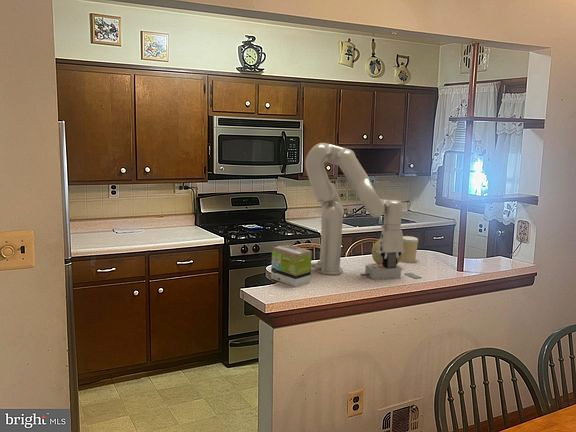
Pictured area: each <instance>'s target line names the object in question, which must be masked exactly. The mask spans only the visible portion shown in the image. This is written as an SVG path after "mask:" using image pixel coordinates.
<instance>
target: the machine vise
mask: <svg viewBox="0 0 576 432" xmlns="http://www.w3.org/2000/svg"><path fill="white" fill-rule="evenodd" d="M364 269H365V271H364V273H360V277H368V278H369V279H371V280H373V281H374V280H388V279H389V280H390V279H391V278H393V279H401V277H402V275H401V274H402V268H401V267H399V266H397V265H396V268H385V267H384V266H383V264H382V265H379V264H365V268H364Z"/></svg>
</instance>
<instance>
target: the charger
mask: <svg viewBox="0 0 576 432" xmlns="http://www.w3.org/2000/svg"><path fill="white" fill-rule="evenodd" d="M387 259H388V263H387V267H385V268H396V266H397V265H396V253H394V252H393V253H388V255H387Z"/></svg>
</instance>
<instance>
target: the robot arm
mask: <svg viewBox="0 0 576 432" xmlns="http://www.w3.org/2000/svg"><path fill="white" fill-rule="evenodd" d="M304 163H305V171H306V175H307V176H308V179H309V183H310V185H311V188H312V191H313V194H314V197H315V199H316V200H317V201H318V202H319V204H320V206H321V208H322V213H321V221H320V223H321V230H320V234H321V235H320V254H319V260H317V262H315V263H314V262H311V268H314V269H315V271H316V272H317V273H319V274H323V275H329V276H330V275H333V276H334V275H340V274H343V273H344V269H343V268H342V267H341V255H342V254H341V252H342V238H343V237H342V236H343V220H344V213H345V212H344V211H345V210H344V207H343V204H342V201H341V199H340V196H339V194H338V191H337V188H336V186H335V184H334V183H333V182H331V181H330V179H329V175H328V173H327V171H326V168H325V163H329V164H332V165H337V166H338V167H339V168H340V170H341V171H342V173H343V174H344V176H345V178H346V179H347V181H348V182H349V184H350V185H351V188H352V189H353V191H354V192H355V194H357V195H356V196H357V197H358V199H359V200H360V202H361V203H362V205H363V207H364V208H365V210H366V211H367V213H368V214H369V216H371V217H372V218H381V217H382V216H383V215H384V218H383V224H382V225H381V226H380V227H381V228H382V230H381V234H380V238H379V239H380V246H379V248H378V249H377V251H376V252H377V253H379V254H380V255H381V256H382V257H383V262H382V264H383V266H384V267H387V263H388V259H387V255H388V253H393V252H394V253H396V266H397V265H398V264H397V258H399V256H400V255H401V253H403V252H404V251H405V250H404V248H403V236H404V234H403V230H401V226H402V212H403V202H402V201H401V200H397V199H383V198H380V197H379V196H378V194H377V192H376V190H375V189H374V187H373V184H372V182H371V180H370V178H369V176H368V174H367V172H366V170H365V169H364V168H363V167H362V164H361V163H360V162H359V159H358V158H357V157H356V154H355V151H354V150H352V149H349V148H346V147H341V146H338V145H334V144H330V143H327V142H320V143H317V144H315V145H314V146H313V147H311V149H310V150H309V151H308V153H307V155H306V157H305V162H304ZM381 251H383V253H382V252H381Z"/></svg>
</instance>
